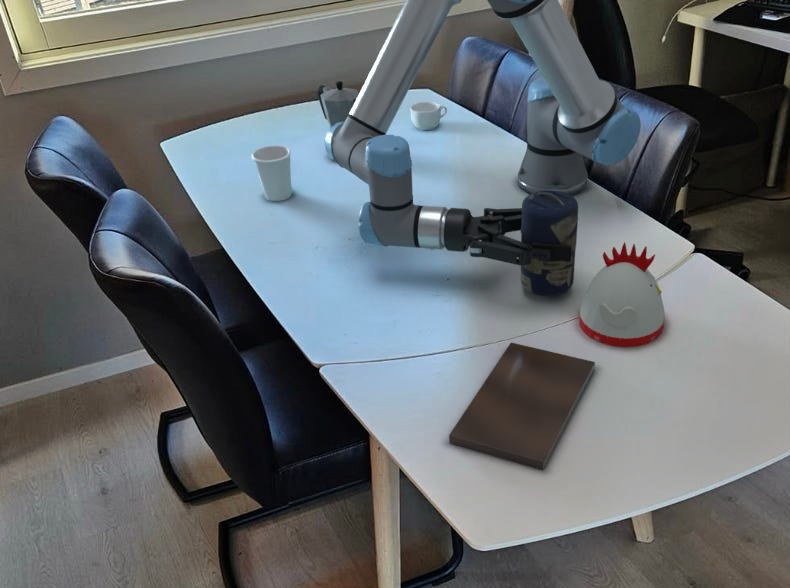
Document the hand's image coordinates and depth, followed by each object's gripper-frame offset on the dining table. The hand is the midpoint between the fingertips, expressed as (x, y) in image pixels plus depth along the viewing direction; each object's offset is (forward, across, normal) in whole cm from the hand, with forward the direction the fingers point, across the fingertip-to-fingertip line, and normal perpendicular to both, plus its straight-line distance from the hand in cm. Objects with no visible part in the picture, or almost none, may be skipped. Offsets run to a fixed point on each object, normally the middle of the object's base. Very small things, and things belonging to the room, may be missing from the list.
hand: (574, 238), depth 143 cm
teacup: (-44, -73, -11) cm, 86 cm away
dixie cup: (-68, -29, -11) cm, 74 cm away
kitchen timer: (+9, +8, -11) cm, 16 cm away
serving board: (-3, +32, -11) cm, 34 cm away
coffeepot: (-60, -52, -11) cm, 80 cm away
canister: (-4, 0, -10) cm, 11 cm away
